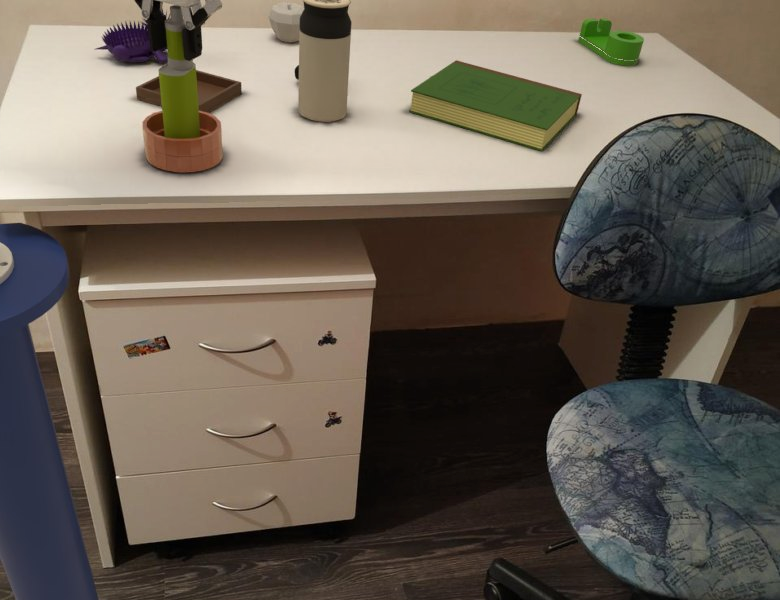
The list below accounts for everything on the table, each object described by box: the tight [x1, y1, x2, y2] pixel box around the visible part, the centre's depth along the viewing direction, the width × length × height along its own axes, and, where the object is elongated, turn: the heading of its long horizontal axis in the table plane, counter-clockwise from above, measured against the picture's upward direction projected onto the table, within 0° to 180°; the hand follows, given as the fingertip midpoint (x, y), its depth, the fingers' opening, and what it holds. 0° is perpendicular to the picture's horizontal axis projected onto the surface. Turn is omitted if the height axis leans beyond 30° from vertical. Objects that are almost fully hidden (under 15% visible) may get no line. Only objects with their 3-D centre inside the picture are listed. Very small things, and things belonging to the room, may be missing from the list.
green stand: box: [577, 17, 645, 67], centre depth 169 cm, size 15×7×5 cm, turn 22°
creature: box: [95, 8, 171, 64], centre depth 140 cm, size 9×18×12 cm, turn 107°
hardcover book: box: [408, 59, 583, 152], centre depth 139 cm, size 25×19×4 cm
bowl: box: [141, 110, 224, 173], centre depth 115 cm, size 11×11×5 cm
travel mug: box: [297, 0, 352, 123], centre depth 127 cm, size 8×8×18 cm
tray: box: [135, 69, 243, 114], centre depth 133 cm, size 12×12×2 cm
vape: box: [157, 4, 200, 139], centre depth 110 cm, size 4×6×20 cm, turn 167°
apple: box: [268, 2, 304, 44], centre depth 156 cm, size 8×8×7 cm
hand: (176, 51), depth 107 cm, fingers open, 4 cm apart
